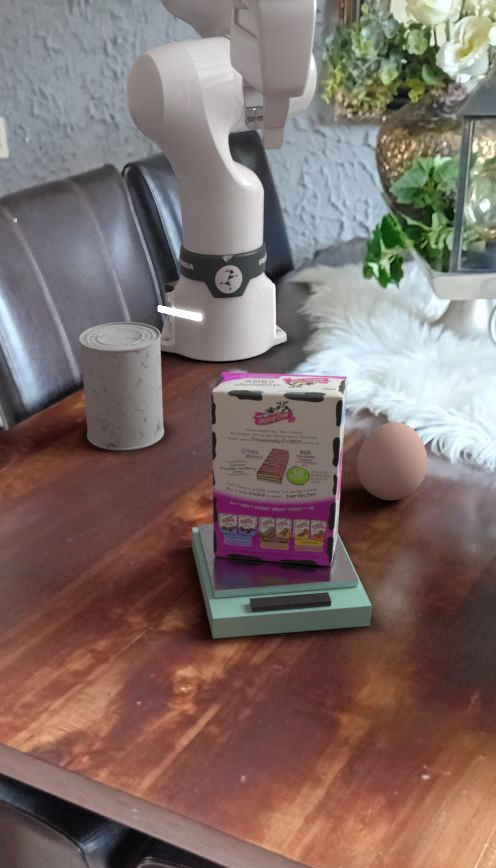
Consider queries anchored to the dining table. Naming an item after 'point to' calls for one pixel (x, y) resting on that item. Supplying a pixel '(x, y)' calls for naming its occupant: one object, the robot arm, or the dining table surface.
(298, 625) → the scale
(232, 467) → the candy bar box
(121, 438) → the tin can
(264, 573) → the scale pan
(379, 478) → the egg
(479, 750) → the dining table surface
